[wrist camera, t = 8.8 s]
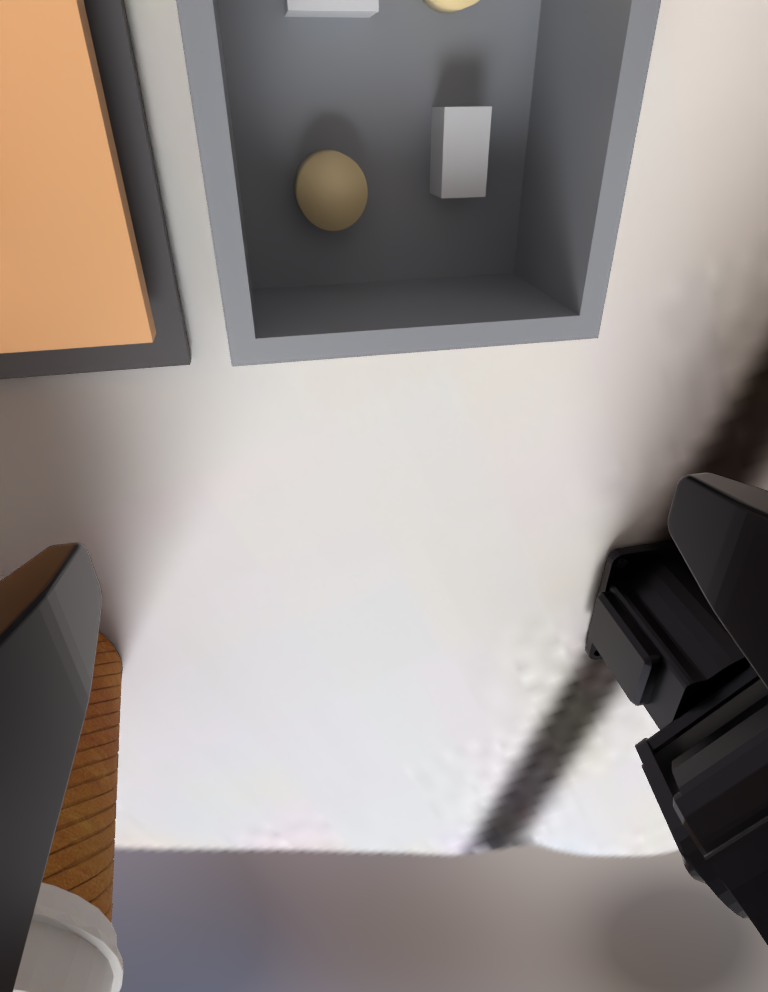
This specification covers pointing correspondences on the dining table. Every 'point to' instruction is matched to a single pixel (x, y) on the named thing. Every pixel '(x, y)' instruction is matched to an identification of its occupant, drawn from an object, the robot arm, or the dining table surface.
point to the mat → (145, 215)
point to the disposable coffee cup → (82, 858)
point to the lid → (62, 191)
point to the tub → (413, 167)
